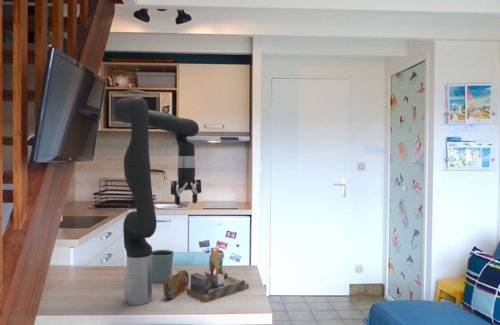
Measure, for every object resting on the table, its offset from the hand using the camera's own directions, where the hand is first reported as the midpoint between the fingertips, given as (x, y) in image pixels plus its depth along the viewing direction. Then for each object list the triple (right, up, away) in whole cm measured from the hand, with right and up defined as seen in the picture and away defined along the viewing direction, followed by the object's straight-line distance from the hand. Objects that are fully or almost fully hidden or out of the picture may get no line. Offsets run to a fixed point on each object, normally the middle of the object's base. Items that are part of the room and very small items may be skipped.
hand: (186, 203), depth 166 cm
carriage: (+13, -31, -14) cm, 37 cm away
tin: (-1, -34, -16) cm, 37 cm away
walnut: (+11, -32, -16) cm, 37 cm away
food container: (+13, -33, +9) cm, 37 cm away
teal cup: (-11, -33, +1) cm, 35 cm away
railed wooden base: (+15, -34, -12) cm, 39 cm away
